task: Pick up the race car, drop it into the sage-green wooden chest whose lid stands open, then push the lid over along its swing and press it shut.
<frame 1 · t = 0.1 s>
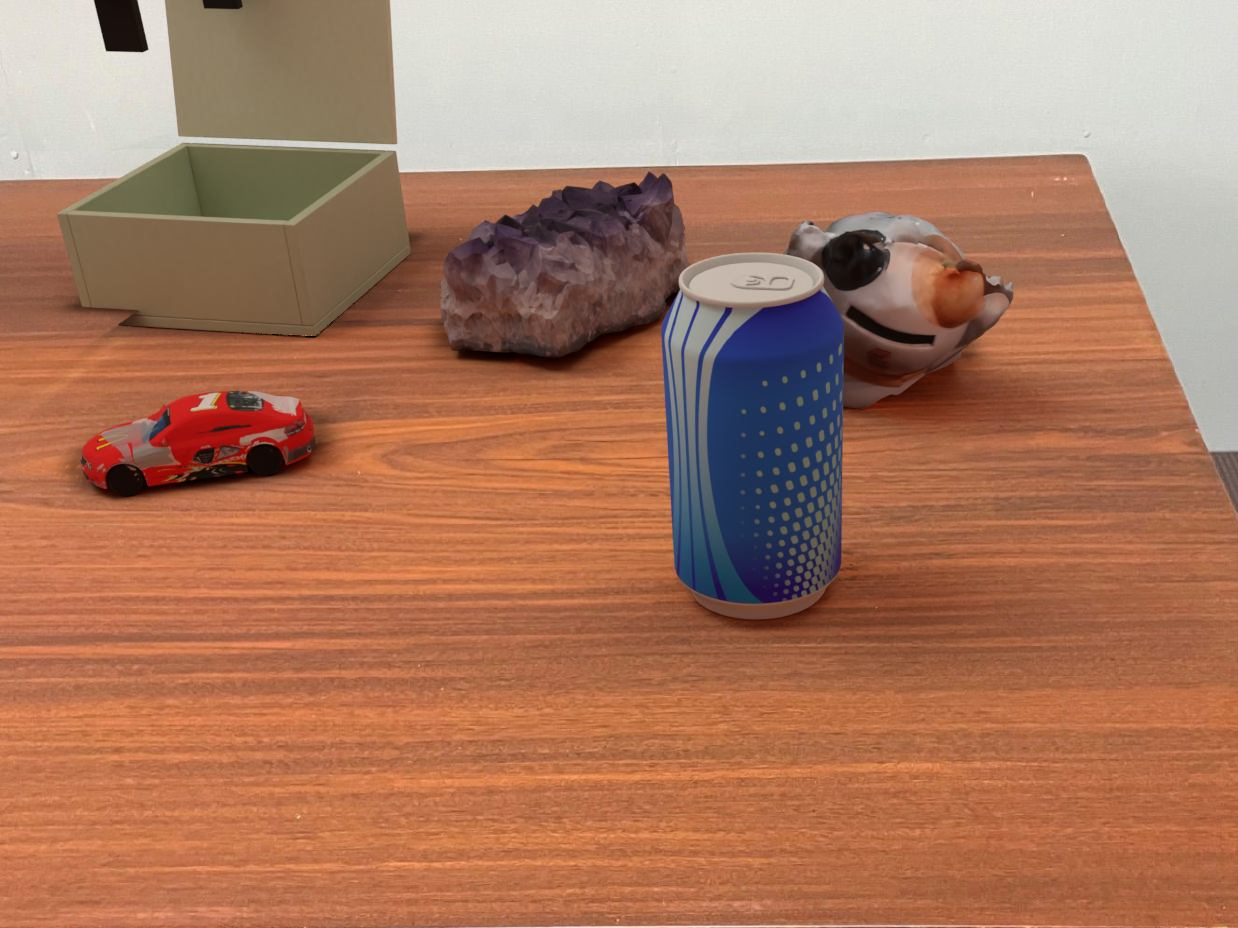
hand: (177, 28, 112), 17 cm above the table, tool pointing down, fingers open, 13 cm apart
beer can: (758, 588, 82), on the table
geode: (578, 323, 113), on the table
chest: (255, 287, 120), on the table
race car: (205, 470, 95), on the table
chest lid: (276, 6, 118), point 17 cm above the table, hinge at 103.6°, touching gripper, hand
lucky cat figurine: (875, 382, 103), on the table
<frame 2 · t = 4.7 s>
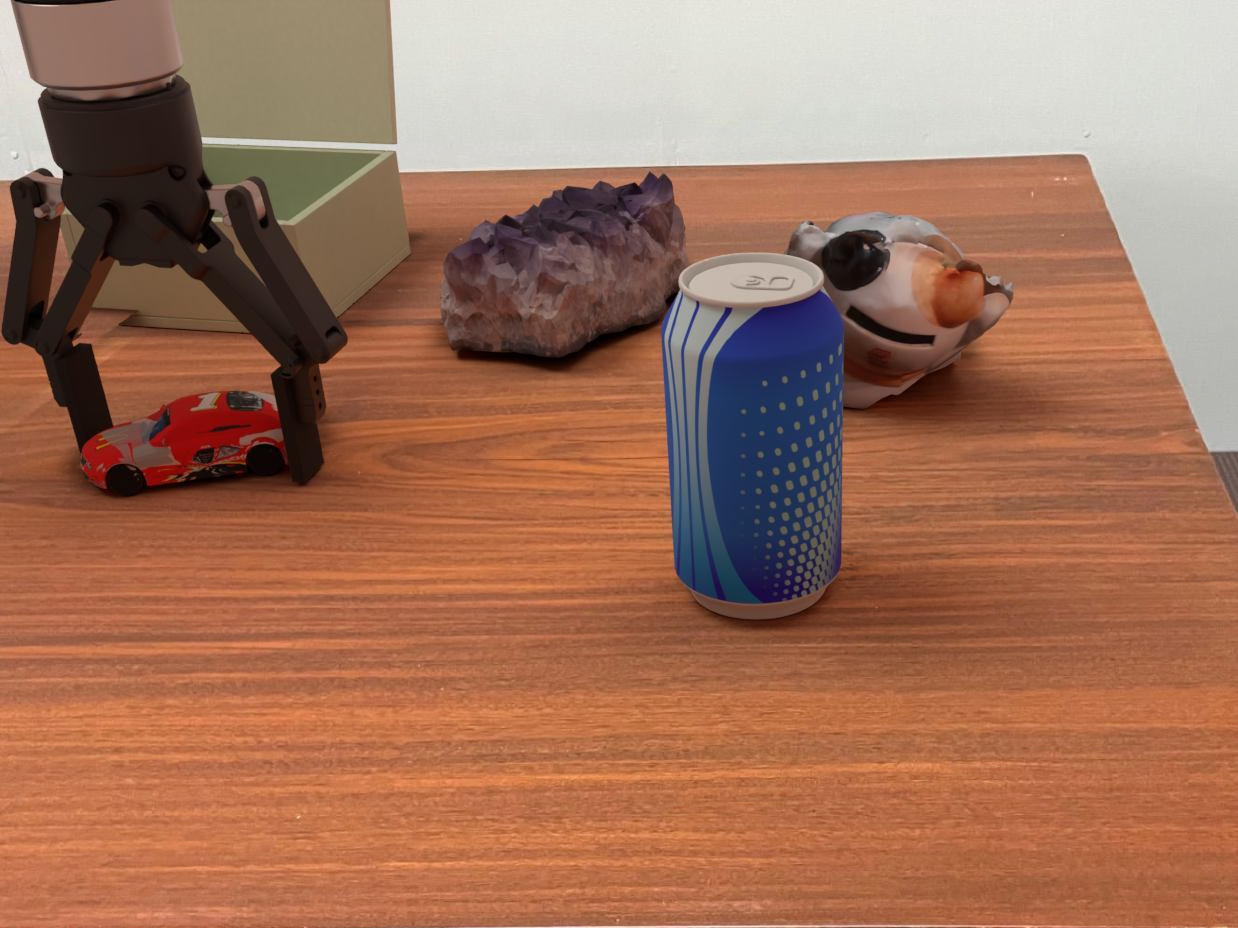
hand: (204, 464, 95), 0 cm above the table, tool pointing down, fingers open, 13 cm apart
race car: (205, 470, 95), on the table, touching gripper
chest lid: (276, 6, 118), point 17 cm above the table, hinge at 103.6°
everything else where it was.
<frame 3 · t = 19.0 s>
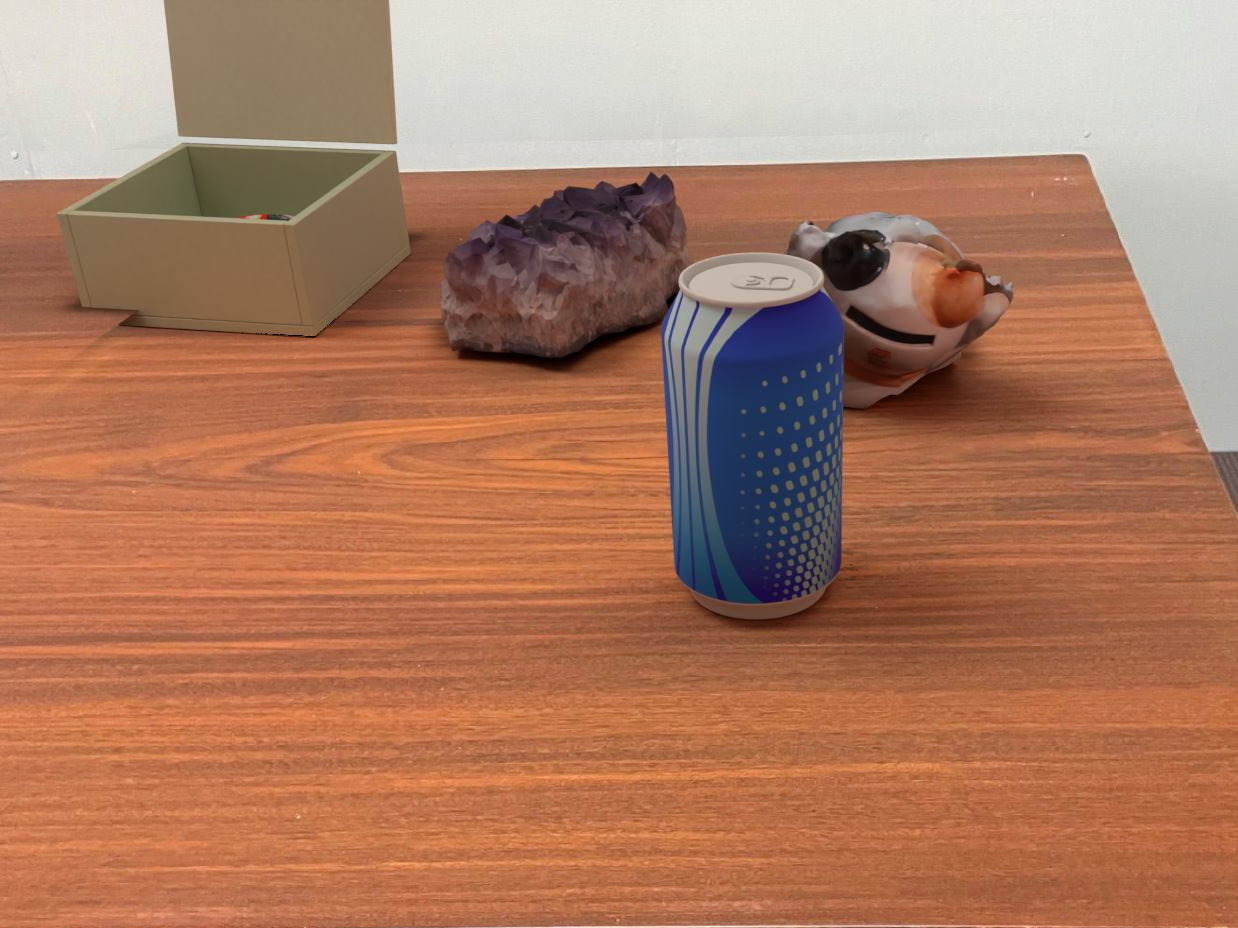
race car: (249, 278, 120), point 1 cm above the table, touching chest
chest lid: (275, 6, 118), point 17 cm above the table, hinge at 102.7°, touching gripper
everything else where it was.
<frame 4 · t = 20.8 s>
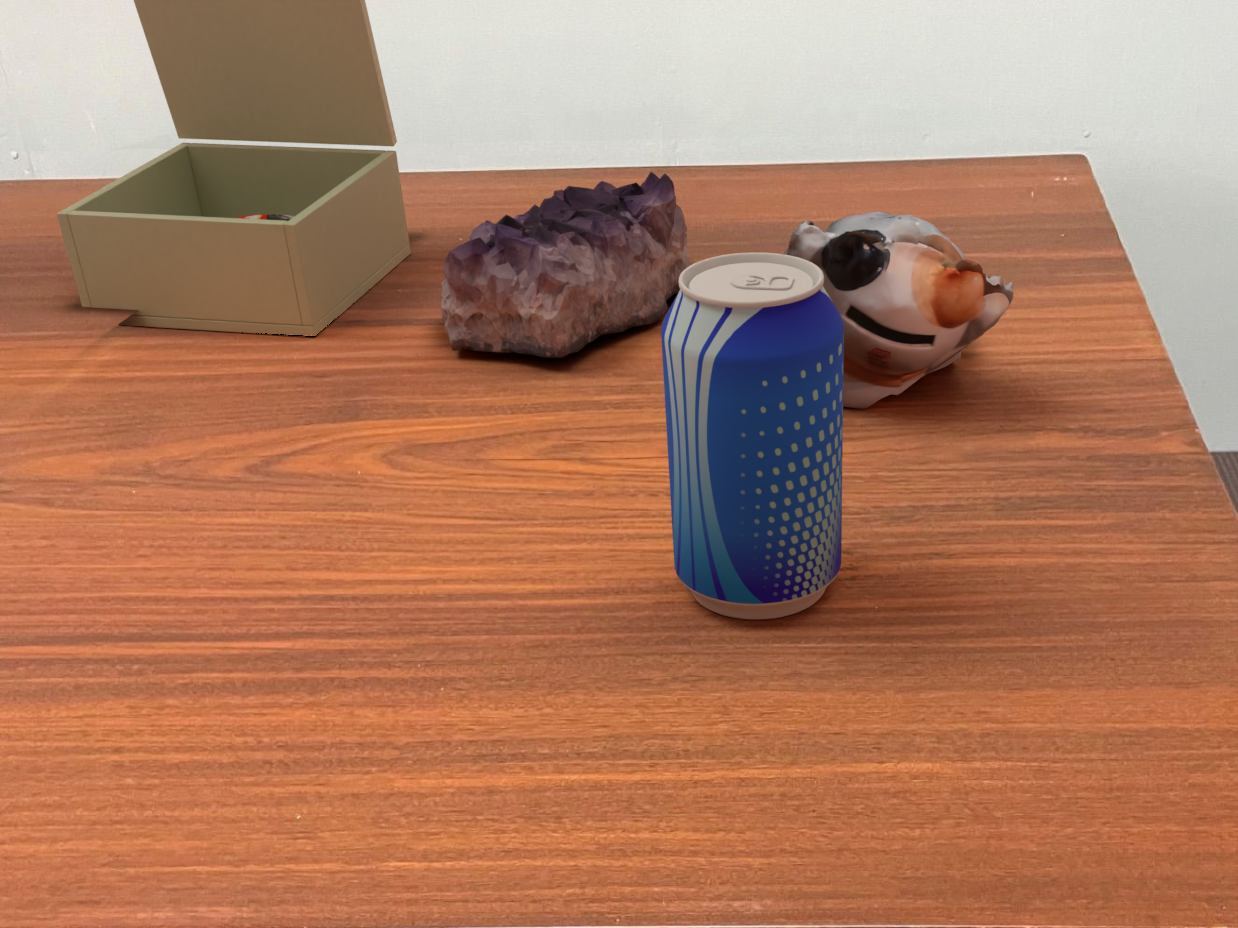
chest lid: (252, 16, 115), point 17 cm above the table, hinge at 79.3°, touching gripper
everything else where it was.
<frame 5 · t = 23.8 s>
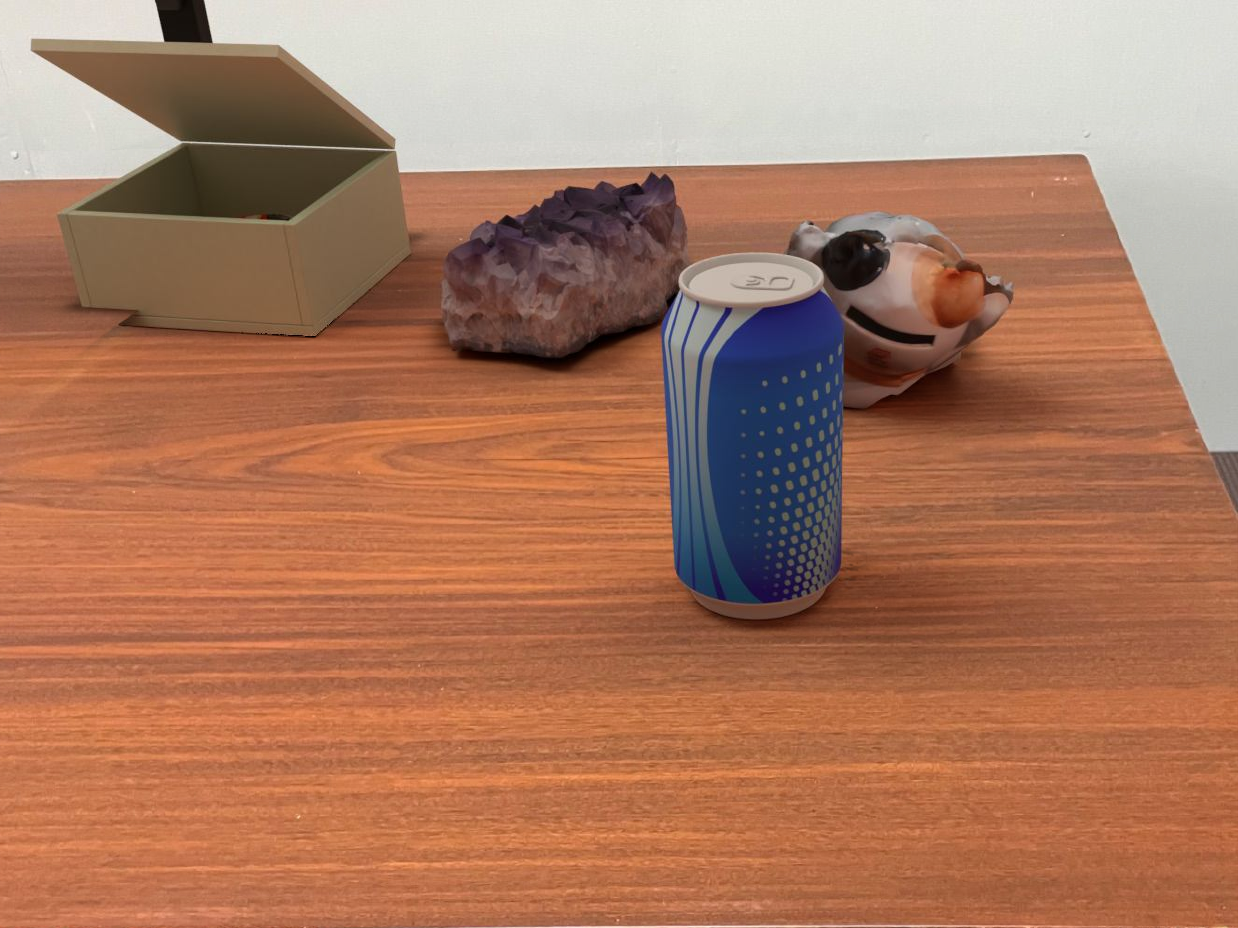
hand: (192, 58, 108), 17 cm above the table, tool pointing down, fingers closed
chest lid: (224, 97, 113), point 13 cm above the table, hinge at 32.5°, touching gripper
everything else where it was.
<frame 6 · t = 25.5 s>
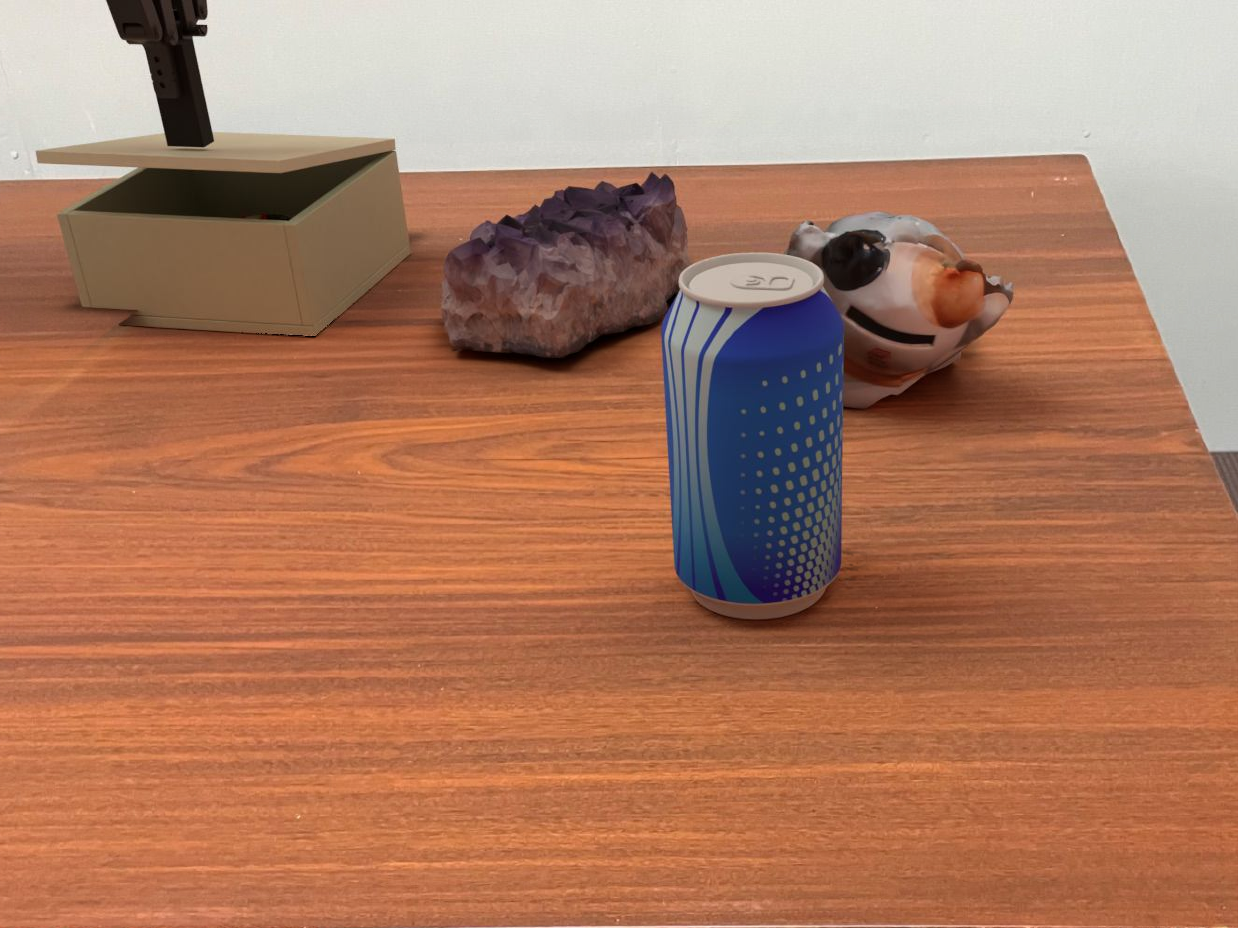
hand: (190, 143, 109), 12 cm above the table, tool pointing down, fingers closed
chest lid: (226, 150, 114), point 10 cm above the table, hinge at 10.7°, touching gripper
everything else where it was.
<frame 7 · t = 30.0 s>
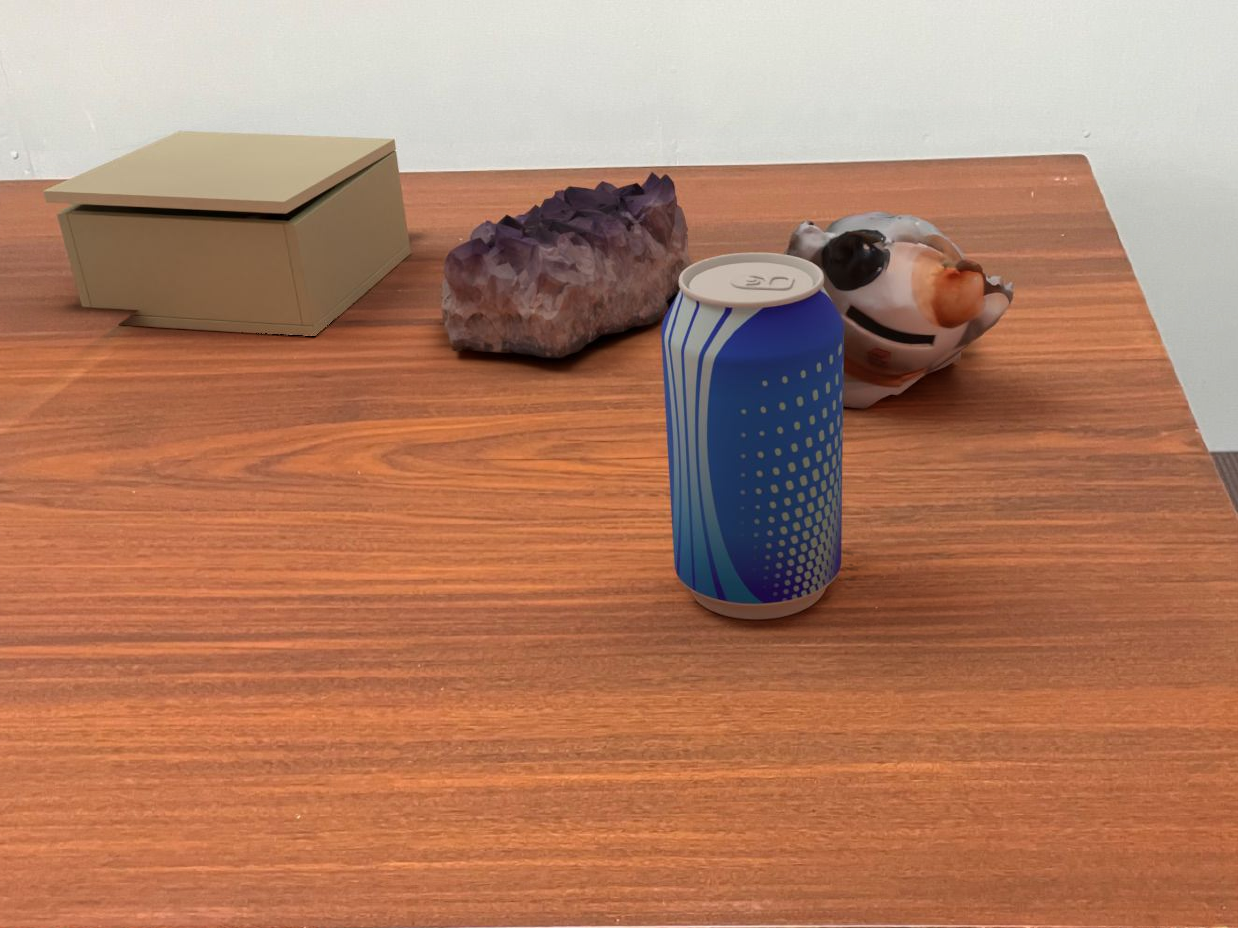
chest lid: (228, 169, 114), point 9 cm above the table, hinge at 2.8°
everything else where it was.
at the end: race car inside the target area in the chest (0.4 cm from its centre), point 0.6 cm above the chest's base; chest lid at +3° (first picture: +104°) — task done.
